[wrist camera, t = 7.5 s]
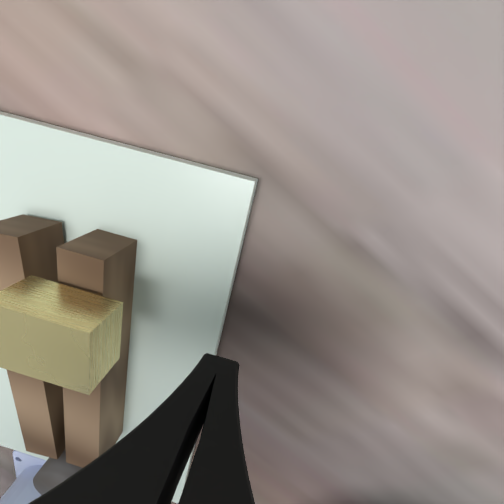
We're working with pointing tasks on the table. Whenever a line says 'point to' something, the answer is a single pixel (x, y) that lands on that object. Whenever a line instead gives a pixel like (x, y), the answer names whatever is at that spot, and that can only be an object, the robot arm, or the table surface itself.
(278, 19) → the table surface
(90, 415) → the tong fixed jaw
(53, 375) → the pale yellow rectangular block
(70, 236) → the serving board
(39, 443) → the tong jaw
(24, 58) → the table surface
